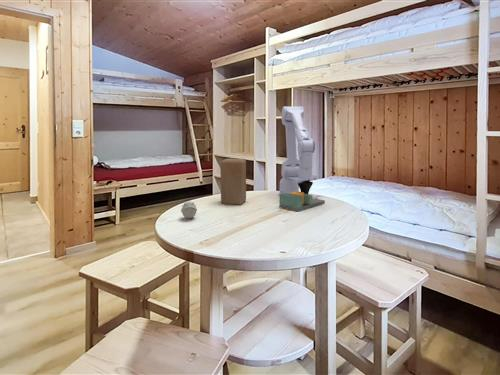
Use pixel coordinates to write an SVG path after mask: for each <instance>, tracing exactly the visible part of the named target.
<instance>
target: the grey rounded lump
mask: <svg viewBox="0 0 500 375" xmlns="http://www.w3.org/2000/svg"><path fill="white" fill-rule="evenodd" d="M197 211H198V208H197V206H196V204H195V202H193V201H191V200H189V201H188V200H187V201H185V202H184V203H183V204H182V206H181V209H180V213H181V214H182V215H183V217H184V218H185V219H190V218H191V219H193V218H194V217H195V215H196V214H197Z"/></svg>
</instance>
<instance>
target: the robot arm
mask: <svg viewBox="0 0 500 375" xmlns="http://www.w3.org/2000/svg"><path fill="white" fill-rule="evenodd" d="M280 115H281V124H282V125H283V126H284V127H285V141H286V143H285V144H286V145H285V146H286V159H285V160H284V161H283V162H282V163H281V170H280V171H281V172H280V174H281V177H282V178H280V181H279V193H278V196H280V194H282V193H287V194H290V193H291V192H296V191H299V192H304V193H305V194H310V193H309V192H310V190H311V187H312V186H313V185H314V182H313V181H317V175H313V156H314V155H313V154H314V153H315V150H316V143H315V140H314V139H313V138H311V137H310V133H309V131H308V130H309V129H307V128H306V127H305V126H304V120H303V119H304V116H305V110H304V107H303V106H285V105H284V106H283V107H282V109H281V114H280ZM297 153H298V154H297ZM297 157H299V158H297Z"/></svg>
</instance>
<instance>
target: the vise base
mask: <svg viewBox="0 0 500 375" xmlns="http://www.w3.org/2000/svg"><path fill="white" fill-rule="evenodd" d="M279 194H280V193H279ZM278 201H279V206H278V207H279V208H281V209H285V210H289V211H293V212H301V211H302V212H303V211H305V210H309V209H311V208H315V207H318V206H321V205H325V203H326V200H324V199H320V198H318V199H314V200H312V204H310V205H309V204H302V196H297V195H292V194H287V193H282V194H280V195H279V200H278Z"/></svg>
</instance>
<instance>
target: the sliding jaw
mask: <svg viewBox="0 0 500 375" xmlns="http://www.w3.org/2000/svg"><path fill="white" fill-rule="evenodd" d="M314 199H319V196H318V195H315V196H313V194H310V193H308V194H305V193H304V204H309V205H310V204H312V200H314Z"/></svg>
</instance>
